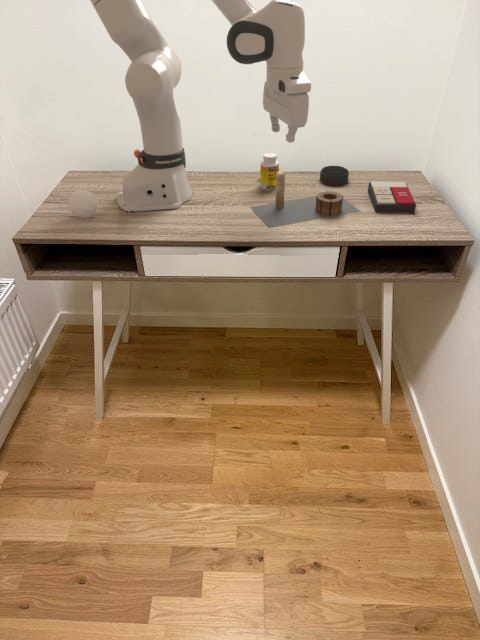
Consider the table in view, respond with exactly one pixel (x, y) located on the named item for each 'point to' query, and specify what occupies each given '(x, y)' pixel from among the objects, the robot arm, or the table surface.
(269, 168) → the supplement bottle
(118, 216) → the table surface
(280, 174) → the dowel
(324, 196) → the bead
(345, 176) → the smart speaker
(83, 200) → the geometric ball
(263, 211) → the felt mat
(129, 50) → the robot arm
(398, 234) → the table surface
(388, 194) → the calculator
